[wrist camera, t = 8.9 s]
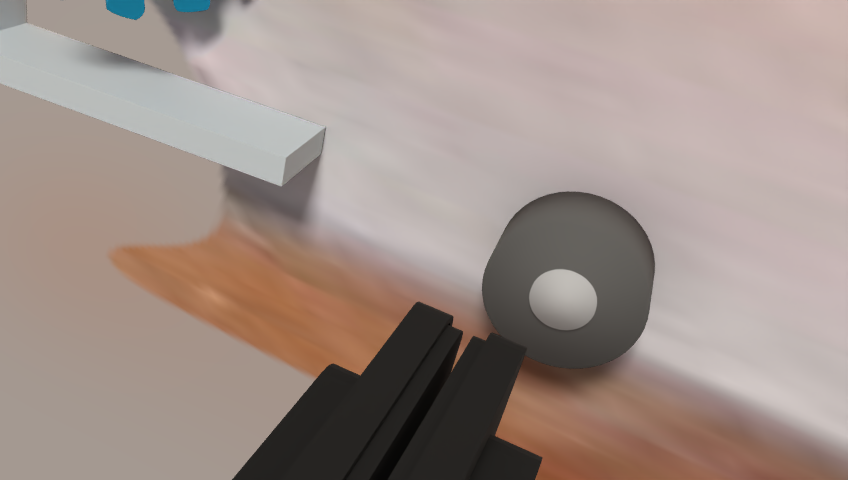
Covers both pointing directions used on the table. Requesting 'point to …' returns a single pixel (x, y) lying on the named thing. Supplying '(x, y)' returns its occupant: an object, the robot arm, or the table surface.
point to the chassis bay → (153, 101)
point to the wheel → (571, 280)
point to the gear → (131, 5)
